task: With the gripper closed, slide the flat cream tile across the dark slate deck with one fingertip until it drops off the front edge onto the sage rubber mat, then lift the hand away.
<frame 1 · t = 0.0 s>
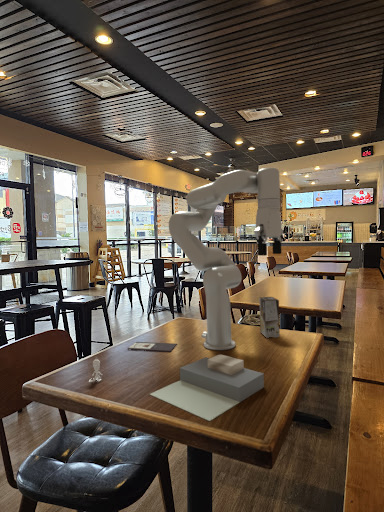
hand: (269, 254, 120), 37 cm above the table, tool pointing down, fingers open, 9 cm apart
coffee box: (269, 335, 151), on the table
toy figurine: (95, 382, 107), on the table
cream tile: (225, 368, 103), point 4 cm above the table, touching slate deck
chocolate bar: (152, 348, 139), on the table
sage mat: (193, 398, 93), on the table
slate deck: (220, 383, 102), on the table
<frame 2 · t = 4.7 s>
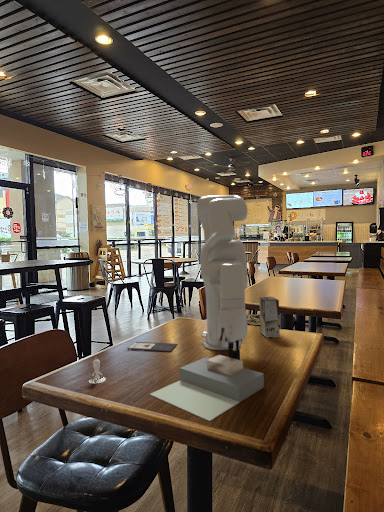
hand: (234, 361, 107), 5 cm above the table, tool pointing down, fingers closed
cream tile: (224, 368, 103), point 4 cm above the table, touching gripper, slate deck
everything else where it was.
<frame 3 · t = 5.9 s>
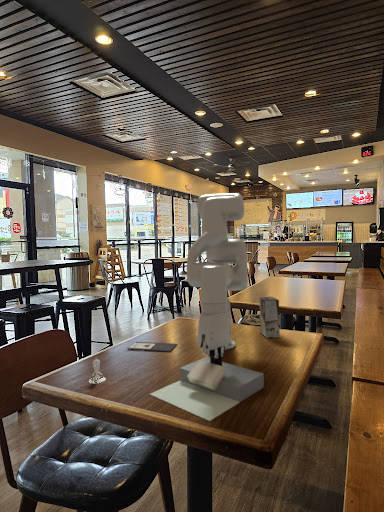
hand: (216, 370, 100), 5 cm above the table, tool pointing down, fingers closed
cream tile: (208, 377, 97), point 4 cm above the table, tilted 33°, touching slate deck
everything else where it was.
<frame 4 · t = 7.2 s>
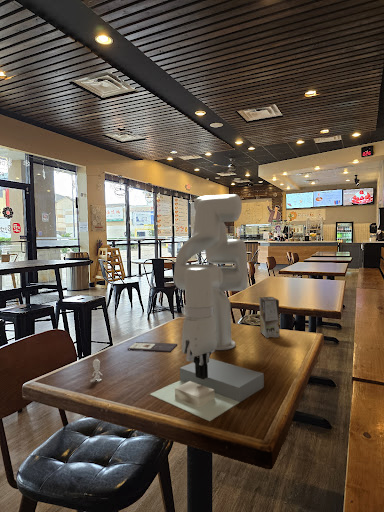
hand: (201, 377, 96), 5 cm above the table, tool pointing down, fingers closed
cream tile: (194, 388, 93), point 3 cm above the table, tilted 180°, touching sage mat
everything else where it was.
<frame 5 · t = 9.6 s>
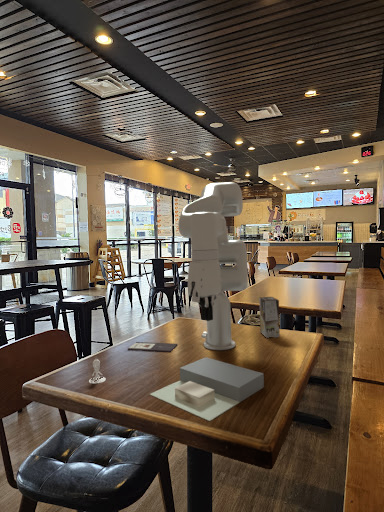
hand: (207, 319, 99), 20 cm above the table, tool pointing down, fingers closed
nothing on the table moved.
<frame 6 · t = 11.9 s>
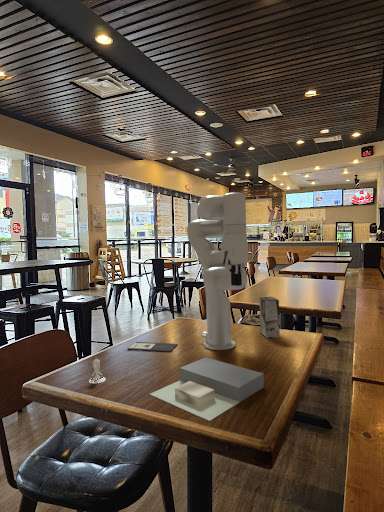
hand: (236, 285, 116), 27 cm above the table, tool pointing down, fingers closed
nothing on the table moved.
at the end: cream tile inside the target area (0.4 cm from its centre), point 2.7 cm above the table; cream tile touching sage mat; cream tile moved 14.3 cm from its start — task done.
